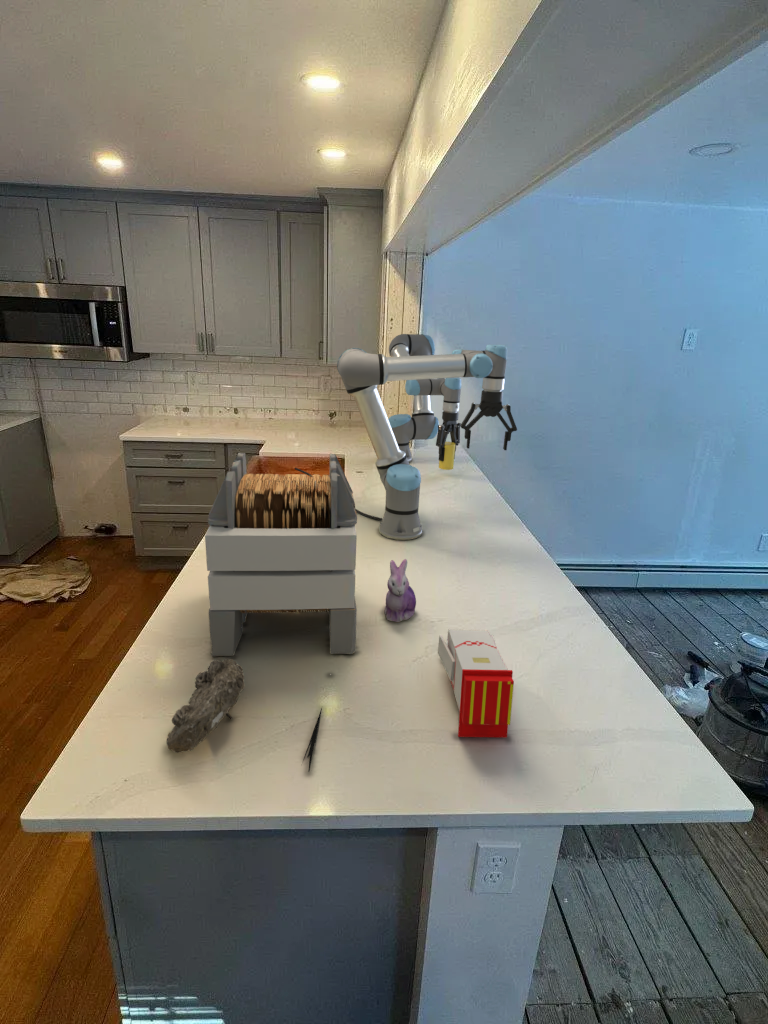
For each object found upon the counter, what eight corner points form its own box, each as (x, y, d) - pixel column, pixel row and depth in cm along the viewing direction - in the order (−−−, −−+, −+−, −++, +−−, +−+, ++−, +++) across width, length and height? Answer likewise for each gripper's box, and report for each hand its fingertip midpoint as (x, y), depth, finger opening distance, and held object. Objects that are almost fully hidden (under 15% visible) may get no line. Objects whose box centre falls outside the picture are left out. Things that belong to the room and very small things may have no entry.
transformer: (231, 587, 157) (223, 443, 143) (348, 585, 161) (352, 445, 147) (208, 658, 125) (196, 482, 112) (356, 654, 129) (361, 484, 115)
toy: (488, 613, 130) (523, 677, 101) (484, 667, 133) (517, 744, 104) (435, 612, 130) (455, 676, 101) (432, 666, 133) (451, 743, 103)
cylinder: (438, 469, 269) (440, 444, 264) (438, 465, 275) (440, 441, 271) (453, 470, 268) (455, 445, 264) (453, 466, 275) (455, 442, 271)
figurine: (392, 627, 141) (395, 572, 136) (374, 608, 149) (376, 556, 144) (425, 619, 145) (429, 566, 140) (405, 601, 154) (408, 550, 149)
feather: (331, 679, 122) (336, 673, 122) (307, 777, 96) (313, 769, 95) (324, 675, 122) (329, 669, 121) (298, 772, 95) (304, 764, 95)
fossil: (192, 660, 117) (244, 628, 112) (224, 691, 120) (276, 661, 115) (142, 746, 98) (202, 712, 93) (182, 779, 101) (242, 748, 96)
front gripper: (525, 390, 205) (518, 447, 212) (456, 387, 205) (451, 444, 212) (529, 393, 198) (522, 452, 205) (458, 390, 198) (453, 449, 205)
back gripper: (442, 414, 253) (438, 464, 261) (470, 410, 266) (466, 458, 274) (430, 412, 259) (426, 460, 266) (458, 408, 271) (454, 455, 279)
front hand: (486, 448), depth 209 cm, fingers open, 13 cm apart
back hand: (446, 459), depth 270 cm, fingers closed on cylinder, 7 cm apart
